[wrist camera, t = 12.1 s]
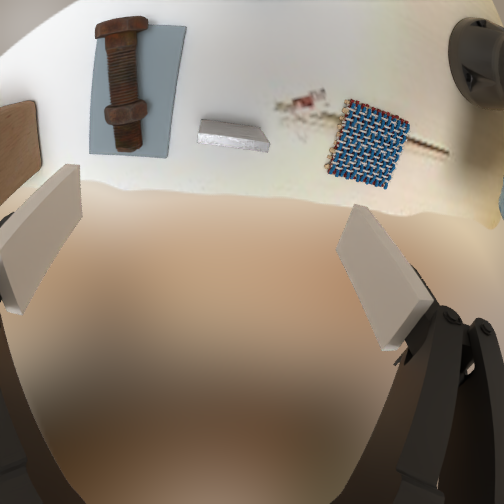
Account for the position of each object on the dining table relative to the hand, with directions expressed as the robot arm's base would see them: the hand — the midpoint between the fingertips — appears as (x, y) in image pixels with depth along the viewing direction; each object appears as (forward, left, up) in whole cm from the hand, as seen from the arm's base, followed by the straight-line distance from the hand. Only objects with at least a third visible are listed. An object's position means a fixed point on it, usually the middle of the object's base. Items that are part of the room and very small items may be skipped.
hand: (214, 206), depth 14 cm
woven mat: (-20, 0, -24) cm, 32 cm away
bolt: (+10, -3, -23) cm, 25 cm away
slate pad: (+10, -2, -24) cm, 26 cm away
